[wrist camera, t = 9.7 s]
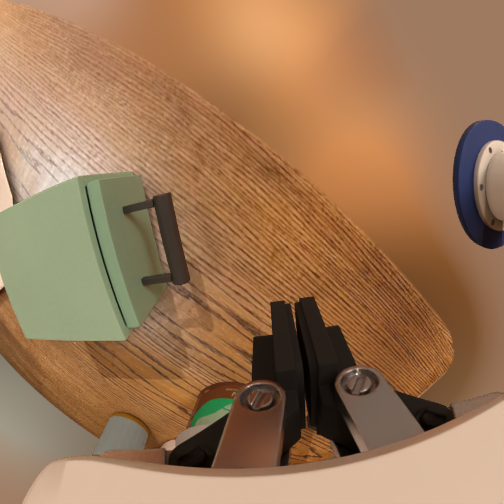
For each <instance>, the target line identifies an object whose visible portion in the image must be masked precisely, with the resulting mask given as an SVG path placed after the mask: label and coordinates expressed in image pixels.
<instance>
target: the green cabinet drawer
mask: <svg viewBox="0 0 504 504" xmlns="http://www.w3.org/2000/svg"><path fill="white" fill-rule="evenodd" d="M86 185H87V191H88V195H87V200H88V205H89V209H90V214H91V218H92V222H93V227H94V231H95V235H96V238H97V242H98V246H99V250H100V253H101V257H102V260H103V263H104V267H105V270H106V273H107V276H108V279H109V282H110V285H111V288H112V291H113V294H114V297H115V300H116V303H117V305H118V308H119V311H120V310H121V312H122V314H123V317H124V319H125V322H126V325H127V327H128V328H136V327H140V326H141V325H142V323H143V322H144V320H145V319H146V318H147V316H148V315H149V313H150V312H151V310H152V309H153V307H154V306H155V304H156V303H157V301H158V300H159V298H160V297H161V296H162V294H163V293H164V291H165V290H166V288H167V283H166V282H172V281H173V283H174V284H175V285H182V284H185V283H187V282H189V281H190V276H189V272H188V268H187V264H186V260H185V256H184V252H183V247H182V243H181V239H180V234H179V230H178V225H177V221H176V216H175V211H174V206H173V202H172V197H171V193H170V192H169V193H165V194H160V195H156V196H153V199H151V200H147V201H146V198H145V193H144V188H143V182H142V177H141V175H134V176H123V177H113V178H104V179H97V180H95V181H92V182H89V183H87V184H86ZM152 207H155V211H156V215H157V220H158V224H159V229H160V233H161V237H162V241H163V245H164V249H165V253H166V257H167V261H168V265H169V269H170V273H166V274H164V273H163V269H162V265H161V262H160V258H159V254H158V250H157V246H156V242H155V238H154V234H153V230H152V225H151V221H150V217H149V212H148V208H152Z"/></svg>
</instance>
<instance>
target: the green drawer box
mask: <svg viewBox="0 0 504 504" xmlns="http://www.w3.org/2000/svg"><path fill="white" fill-rule="evenodd" d="M123 176H134V174H133V172H120V173H106V174H95V175H85V176H77V177H74V178H72V179H69V180H67V181H64V182H62V183H60V184H57V185H55V186H53V187H50V188H48V189H46V190H44V191H41V192H39V193H37V194H35V195H33V196H31V197H29V198H27V199H25V200H23V201H21V202H19V203H17V204H15V205H13V206H11V207H9V208H7V209H5V210H3V211H2V212H0V275H1V278H2V281H3V284H4V286H5V289H6V292H7V295H8V297H9V300H10V302H11V305H12V307H13V310H14V312H15V315H16V317H17V319H18V321H19V324H20V326H21V328H22V330H23V332H24V334H25V336H26V338H27V339H41V340H65V341H125V340H126V339H127V338H128V336H129V335H130V334H131V332H132V331H133V329H134V328H128V327H127V325H126V322H125V319H124V317H123V314H122V312H121V310H120V311H119V308H118V305H117V303H116V300H115V297H114V294H113V291H112V288H111V285H110V282H109V279H108V276H107V273H106V270H105V267H104V263H103V260H102V257H101V253H100V250H99V246H98V242H97V238H96V235H95V231H94V227H93V222H92V218H91V214H90V209H89V205H88V200H87V195H88V191H87V185H86V184H87V183H89V182H92V181H95V180H97V179H104V178H113V177H123Z"/></svg>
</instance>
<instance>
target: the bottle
mask: <svg viewBox="0 0 504 504" xmlns="http://www.w3.org/2000/svg"><path fill="white" fill-rule="evenodd" d="M148 435H149V431H148V429H147V427H146V426H145V424H144V423H143V422H142V421H140V420H139V419H138V418H136V417H134V416H132V415H130V414H126V413H115V414H113V415H112V416H111V417H110V419H109V421H108V423H107V425H106V427H105V429H104V431H103V433H102V435H101V437H100V439H99V442H98V444H97V446H96V448H95V450H94V452H93V454H92V456H99V455H100V454H101V453H103V452H105V451H107V450H134V449H144V447H145V444H146V441H147V438H148Z"/></svg>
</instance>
